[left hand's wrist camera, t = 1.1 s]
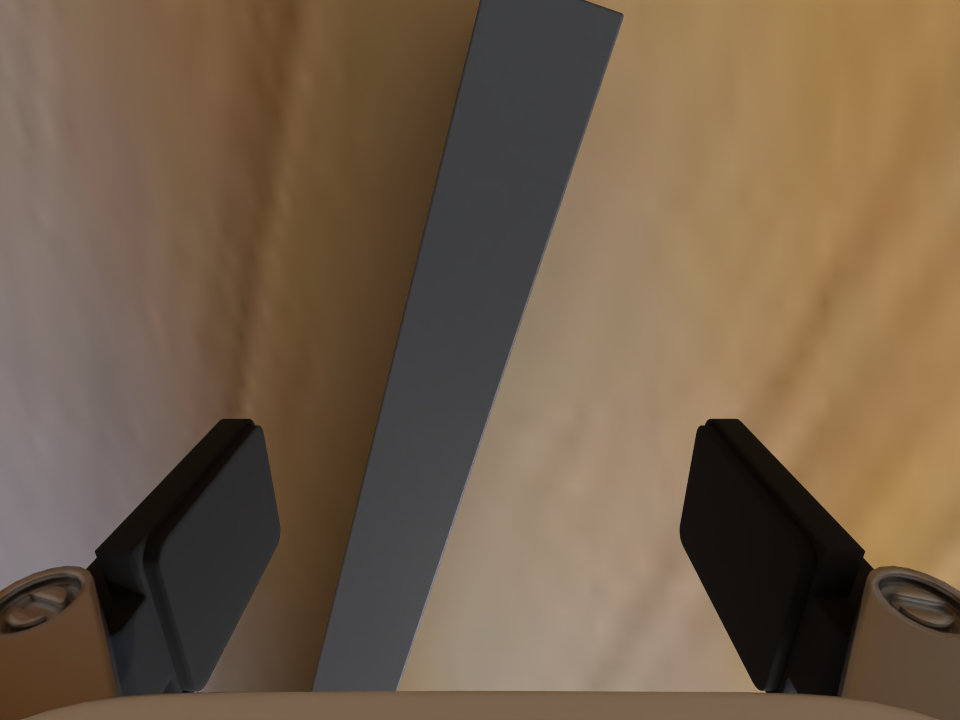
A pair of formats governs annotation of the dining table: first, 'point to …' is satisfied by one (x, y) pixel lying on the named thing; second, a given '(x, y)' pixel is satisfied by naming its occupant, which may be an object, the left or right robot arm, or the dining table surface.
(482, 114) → the beam
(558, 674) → the dining table surface
